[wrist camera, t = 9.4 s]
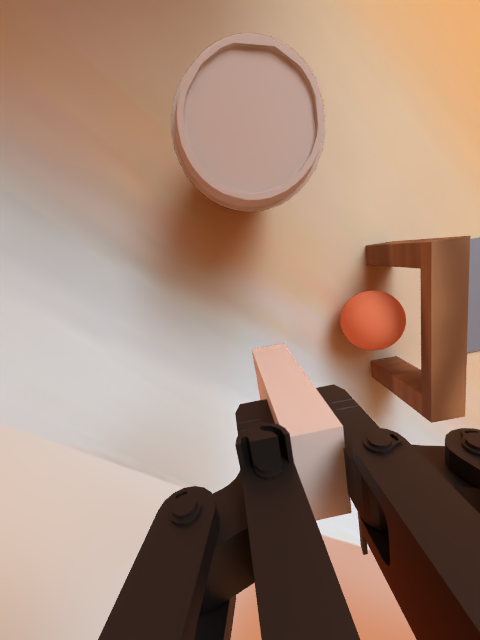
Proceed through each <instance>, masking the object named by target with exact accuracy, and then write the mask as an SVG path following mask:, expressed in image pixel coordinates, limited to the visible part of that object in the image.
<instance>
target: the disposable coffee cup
mask: <svg viewBox="0 0 480 640" xmlns="http://www.w3.org/2000/svg"><path fill="white" fill-rule="evenodd" d="M171 132H172V138H173V144H174V149H175V152H176V154H177V157H178V160H179V162H180V165H181V166H182V168H183V170H184V172H185V174H186V175H187V177H188V178H189V179H190V181H191V182H192V183H193V185H194V186H195V187H196V188H197V189H198V190H199V191H200V192H201V193H203V194H204V195H205V196H206V197H208V198H209V199H210V200H212V201H214V202H216V203H217V204H219V205H221V206H224V207H227V208H230V209H233V210H237V211H246V212H253V211H262V210H266V209H270V208H273V207H276V206H278V205H280V204H282V203H284V202H285V201H287V200H289V199H290V198H291V197H293V196H294V195H295V194H296V193H298V192H299V191H300V190H301V189H302V187H303V186H304V185H305V184H306V183H307V182H308V180H309V179H310V177H311V175H312V174H313V172H314V170H315V169H316V167H317V164H318V161H319V158H320V155H321V153H322V150H323V143H324V136H325V115H324V105H323V99H322V96H321V93H320V90H319V86H318V83H317V80H316V78H315V76H314V74H313V73H312V71H311V70H310V68H309V66H308V65H307V63H306V62H305V61H304V59H303V58H302V57H301V56H300V55H299V54H298V53H297V52H296V51H295V50H294V49H292V48H291V47H289V46H287V45H286V44H284V43H283V42H281V41H279V40H277V39H275V38H273V37H271V36H267V35H262V34H258V33H239V34H235V35H231V36H227V37H225V38H223V39H220V40H218V41H216V42H215V43H213V44H212V45H211V46H209V47H208V48H207V49H205V50H204V51H202V52H201V54H200V55H199V56H198V57H197V59H196V60H195V61H194V63H193V64H192V65H191V66H190V67H189V69H188V70H187V72H186V73H185V75H184V76H183V78H182V80H181V81H180V84H179V87H178V89H177V92H176V95H175V97H174V102H173V108H172V114H171Z"/></svg>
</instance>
